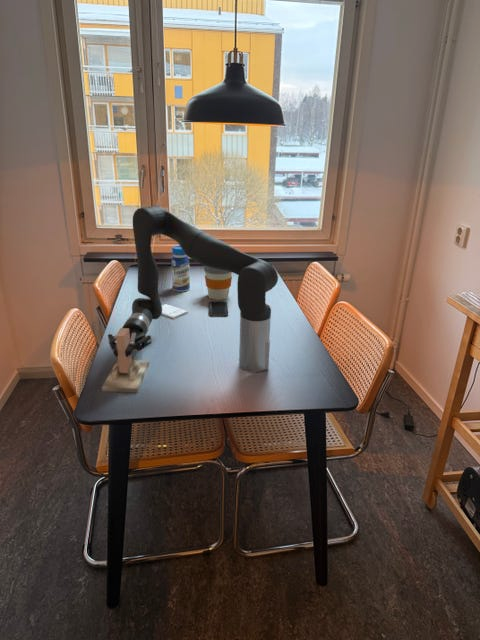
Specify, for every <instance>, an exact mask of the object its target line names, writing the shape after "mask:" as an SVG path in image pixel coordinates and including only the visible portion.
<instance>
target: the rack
mask: <svg viewBox="0 0 480 640" xmlns="http://www.w3.org/2000/svg"><path fill="white" fill-rule="evenodd" d="M149 366H150V360H140V359H139V360H137V359H136V360H135V359H132V366H131V368H130V370H129V372H128V373H119V363H118V359H117V360H116V362H115V364H114V365H113V367H112V368H111V371H110V372H109V373H108V376H107V378H106V379H105V381H104V382H103V384H102V387H101V391H102V392H114V393H117V392H119V393H122V392H124V393H139V389H140V387H141V385H142V382H143V380H144V378H145V375H146V373H147V371H148V368H149Z"/></svg>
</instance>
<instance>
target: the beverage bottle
mask: <svg viewBox="0 0 480 640" xmlns="http://www.w3.org/2000/svg"><path fill="white" fill-rule="evenodd" d="M171 249H172V250H171V252H172V255H173V256H172V258H171V261H170V263H171V267H170V270H171V285H172V286H171V288H172V290H173V291H175V292H178V293H179V292H187V291H189V290H190V288H191V282H190V281H191V280H190V259H189V257H188V256H187V255H186V254H185V253H184V251H183V250H182V248H181V247H180V245H174V246H172V248H171Z"/></svg>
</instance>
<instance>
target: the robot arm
mask: <svg viewBox="0 0 480 640" xmlns="http://www.w3.org/2000/svg"><path fill="white" fill-rule="evenodd" d="M132 231H133V238H134V245H135V253H136V258H137V292H138V293H139V294H141V295H143V296H146V297H148V298H144V297H138V298H136V299H134V300H133V302H132V305H131V311H132V313H131V314H130V316H128V318H127V319H126V321H125V322H124V324H123V326H122V327H121V328H129V333H130V345H128V347H127V348H126V350H125V355H126V357H129V355H131V356H132V355H133V352H134V351H135V350H137V351H139V352H140V351H142V350H143V349H145V348H146V347H148V346H150V345H151V344H152V337H151V335H147V333H148V332H149V329H150V325H151V324H152V322H153V320H158V319H159V318H161V316H162V315H161V314H162V305H163V304H162V302H161V297H160V293H159V279H160V278H159V275H160V273H159V267H158V263H157V262H156V260H155V258H154V255H153V252H152V247H151V245H152V239H153V238H152V237H153V236H157V235H162V236H163V235H164V236H165V237H167V238H170V239H172V240H174V241H175V242H176V243H178V246H180V247H181V248H182V250H183V251H184V253H185V254H186V256H187V257H188V258H190V259H191V260H193V261H195V262H197V263H198V264H200V265H202V266H204V267H205V266H207V267H211V268H216V269H220V270H226V271H230V272H232V273H234V274H236V275H237V285H236V286H237V290H236V291H237V306H238V310H239V312H240V313H239V316H240V317H239V319H240V320H239V321H240V322H239V346H238V347H239V351H238V352H239V353H238V354H239V355H238V357H239V358H238V365H239V368H240V369H242V370H243V371H246V372H249V373H260V372H263V371H269V368H270V367H269V365H270V351H271V350H270V347H271V346H270V345H271V342H270V341H271V340H270V337H271V332H270V331H271V320H272V319H271V317H272V316H271V315H272V307H271V306H270V305H269V304H267V303H266V293H268V292H270V291H271V290H272V289H273V288H275V286H277V284H278V282H279V275H278V272H277V270H276V268H275V267H274V266H273V265H272V264H271V263H270V262H268V261H266V260H263V259H260V258H258V257H255V256H253V255H250V254H247V253H245V252H243V251H241V250H239V249H237V248H236V247H233V246H231V245H230V244H228V243H226V242H224V241H222V240H220V239H219V238H216V237H215V236H213V235H211V234H209V233H207V232H206V231H203V230H202V229H199V228H198V227H195V226H193V225H191V224H189V223H188V222H185V221H184V220H183V219H181V218H179V217H178V216H177V215H175V214H173V213H172V212H170V210H167V209H166V208H165V207H162V206H160V205H152V206H144V207H139V208H138V209H136V210H135V211H134V213H133V214H132ZM146 335H147V336H146ZM107 340H108V344H109V347H110V349H111V350H112V352H113V355H114V357H118V351H117V344H116V335H113V334H107Z"/></svg>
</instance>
